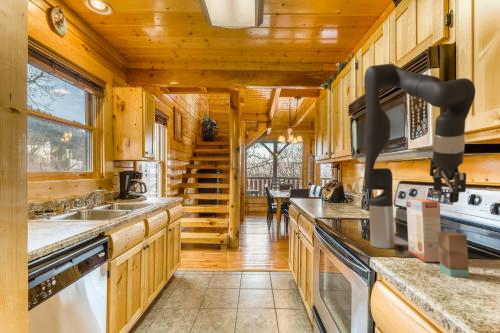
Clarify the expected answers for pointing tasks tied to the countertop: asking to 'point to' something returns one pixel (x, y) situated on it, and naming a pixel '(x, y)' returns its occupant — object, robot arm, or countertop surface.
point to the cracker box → (423, 228)
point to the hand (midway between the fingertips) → (445, 195)
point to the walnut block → (453, 254)
